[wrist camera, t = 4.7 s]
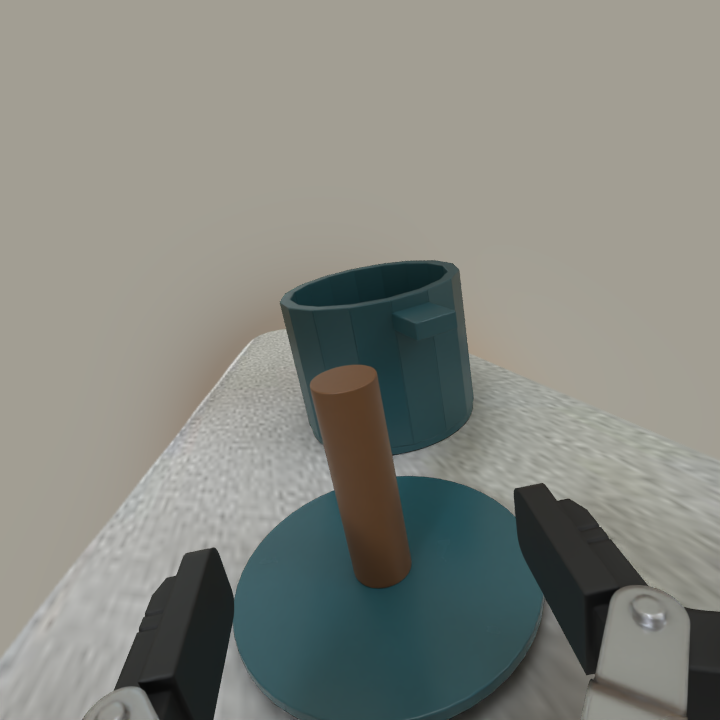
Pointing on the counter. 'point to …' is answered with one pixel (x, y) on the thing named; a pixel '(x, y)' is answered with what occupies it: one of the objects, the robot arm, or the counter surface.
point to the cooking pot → (389, 343)
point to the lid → (383, 583)
